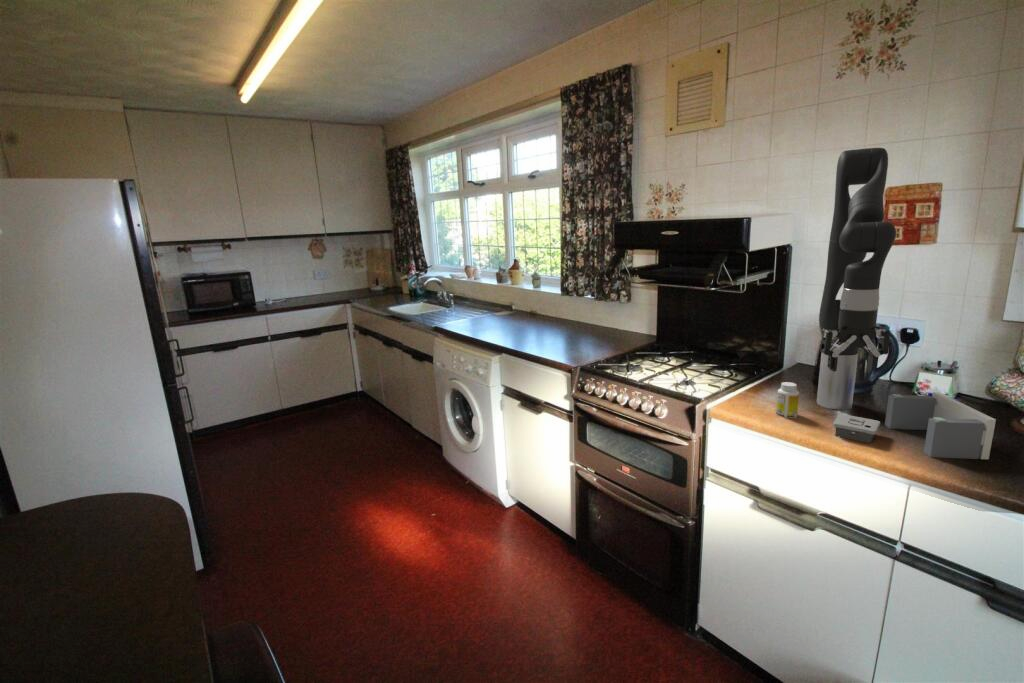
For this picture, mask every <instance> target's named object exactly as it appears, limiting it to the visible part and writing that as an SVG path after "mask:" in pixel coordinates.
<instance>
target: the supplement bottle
mask: <svg viewBox="0 0 1024 683" xmlns="http://www.w3.org/2000/svg"><path fill="white" fill-rule="evenodd" d="M797 388H798V386H797V384H796V383H795V382H790V381H785V382H783V381H782V382H781V384H780V388H779V389H777V394H776V395H777V396H776V411H775V414H776V415H777V416H779V417H780V418H781V417H782V418H786V419H794V418H797V417H798V413H799V412H798V411H799V401H800V400H799V398H800V391H799V390H797Z"/></svg>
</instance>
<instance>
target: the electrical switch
mask: <svg viewBox="0 0 1024 683" xmlns="http://www.w3.org/2000/svg"><path fill="white" fill-rule="evenodd" d="M880 426H881V421H879V420H875V419H871V418H865V417H861V416H860V417H859V416H853V415H850V414H849V415H848V414H843V413H839V414H838V415H837V417H836V418H835V419H834V421H833V422H832V427H834V428H835V434H834V436H835V437H838V436H840V437H839V438H842V437H844V438H843V439H847V438H848V439H847V440H852V441H856V442H861V443H867V444H871V443H872V441H873V438H874V437H875V435H877V432H878V431H879V428H880Z"/></svg>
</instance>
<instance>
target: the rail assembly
mask: <svg viewBox="0 0 1024 683" xmlns="http://www.w3.org/2000/svg"><path fill="white" fill-rule="evenodd" d="M932 393H933V395H932V396H928V395H913V394H912V395H911V394H910V395H909V394H908V395H907V394H906V395H904V394H899V393H892V394H889V395H888V398H887V406H886V412H885V420H884V426H885V427H886V428H888V429H889V430H890V429H891V430H892V429H894V430H912V431H913V430H915V431H926V435H925V440H924V441H925V442H924V448H923V453H924V454H925V455H926V456H928V457H929V458H939V459H940V458H942V459H970V460H971V459H972V460H979V459H980V460H989V459H990V454H991V448H992V442H993V438H994V432H995V426H996V421H997V419H996V418H993V417H992V416H989V415H988V414H985V413H984V412H982V411H979V410H977V409H974V408H973V407H971V406H968V405H966V404H964V403H962V402H961V401H960V402H958V401H956V400H954V399H955V398H954V399H952V398H953V397H950V396H949V395H948V396H947V395H946V394H944V393H942V392H940V391H939V392H938V391H935V392H933V391H932Z"/></svg>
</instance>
